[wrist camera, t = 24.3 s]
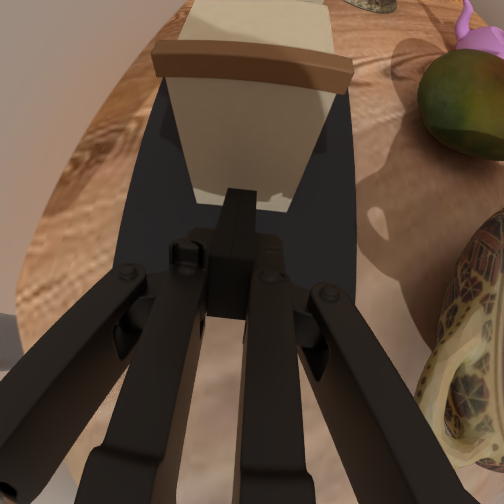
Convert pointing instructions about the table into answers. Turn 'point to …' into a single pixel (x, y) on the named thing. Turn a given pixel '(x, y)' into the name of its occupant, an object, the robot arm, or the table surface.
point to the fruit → (465, 102)
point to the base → (269, 222)
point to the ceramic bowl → (470, 356)
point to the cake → (375, 5)
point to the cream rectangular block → (251, 94)
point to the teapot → (478, 35)
